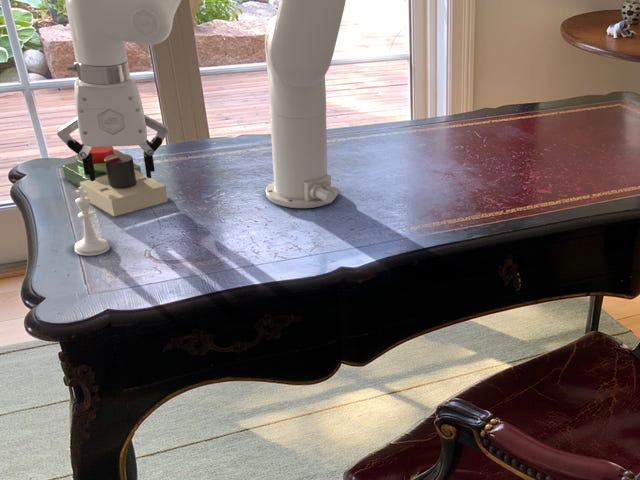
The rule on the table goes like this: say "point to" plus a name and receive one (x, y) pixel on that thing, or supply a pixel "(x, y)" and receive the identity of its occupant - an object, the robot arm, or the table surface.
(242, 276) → the table surface
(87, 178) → the switch box
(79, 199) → the chess piece
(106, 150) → the power button
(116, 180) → the knob
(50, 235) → the table surface
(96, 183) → the panel
